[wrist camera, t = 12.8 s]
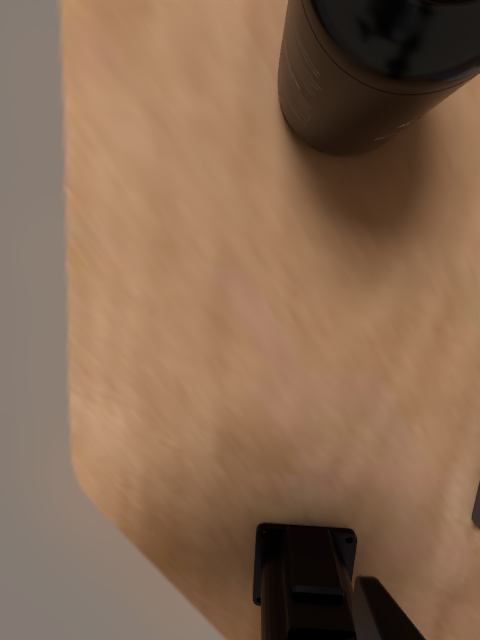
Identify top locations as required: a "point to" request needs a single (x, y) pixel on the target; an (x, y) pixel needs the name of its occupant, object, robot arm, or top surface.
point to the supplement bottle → (372, 66)
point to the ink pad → (477, 509)
